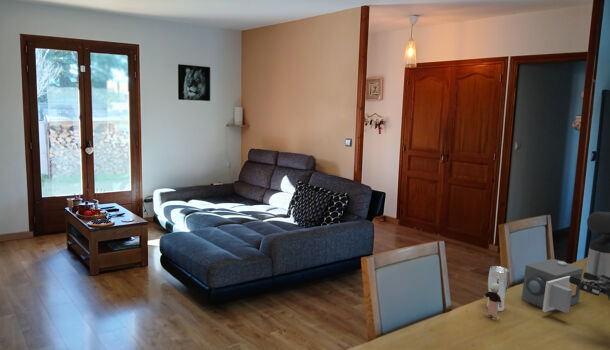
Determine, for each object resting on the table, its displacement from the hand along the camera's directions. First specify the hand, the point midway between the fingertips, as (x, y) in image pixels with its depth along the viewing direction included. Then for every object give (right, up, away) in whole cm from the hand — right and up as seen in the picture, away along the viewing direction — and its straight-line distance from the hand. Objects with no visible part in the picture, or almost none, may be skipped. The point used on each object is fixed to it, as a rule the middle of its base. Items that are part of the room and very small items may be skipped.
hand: (577, 276), depth 154 cm
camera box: (+2, -14, +21) cm, 26 cm away
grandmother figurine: (-27, -16, +6) cm, 32 cm away
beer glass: (-22, -15, +14) cm, 30 cm away
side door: (0, -14, +9) cm, 17 cm away
